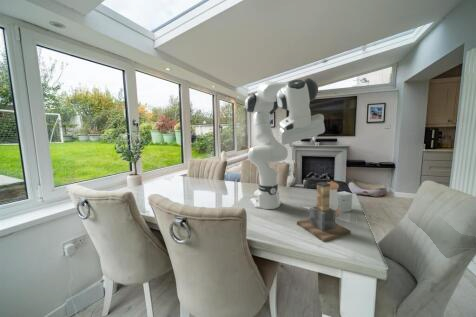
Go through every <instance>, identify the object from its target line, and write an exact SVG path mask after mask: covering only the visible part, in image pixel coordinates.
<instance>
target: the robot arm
mask: <svg viewBox="0 0 476 317" xmlns="http://www.w3.org/2000/svg"><path fill="white" fill-rule="evenodd" d="M318 92H319V86H318V83H317V82H316V81H315V80H313V79H312V78H309V77H307V78H305V79H294V80H290V81H288V82H285V81H284V82H283V81H282V82H281V81H280V82H278V81H269V80H268V81H264V82H261V83H260V84H259V85H258V87H257V91H256V93H254V92H252V93H251V94H249V95H248V96H246V98H245V101H244V106H245V110H246V111H247V112H248V113H253V117H252V122H253V130H254V137H255V140H257V142H259V143H261V144H263V145H256V146H252V147H250V148H249V149H248V152H247V158H248V160H249V162H250V163H252V164H253V165H255V167H256V168H257V171H258V177H259V183H258V185H257V189H256V190H255V191H254V192H253V195H252V197H251V198H250V202H251V203H252V205H253V206H254V208H255V209H256V208H257V209H264V210H273V209H279V207H280V205H281V204H282V201H281V200H280V199H281V198H280V191H279V190H278V189H279V187H278V186H279V184H278V174H277V171H276V170H275V169H274V168H273V167H270V166H269V163H279V162H282V161H283V162H284V161H286V160H287V157H288V155H289V153H288V149H287V147H286V146H285V145H288V146H290V148H291V150H292V151H293V150H294V151H295V150H296V145H295V144H293V143H295V142H298V141H301V140H305V139H308V138H310V140H309V142H310V144H311V145H314V144H315V143H316V140H317V138H318V136H319V135H321V134H324V133H325V132H326V127H325V122H324V121H325V116H324V114H323V113H317V114H314V115H312V113H311V112H312V111H311V108H310V102H312V101H313V102H314V100H315V99H316V97H317V95H318ZM278 108H280V109H282V110H285V111H288V116H287V117H285V118H284V119H282V120H280V121H279V126H280V127H279V130H278V136H279V140H277V139H276V137H275V136H274V132H273V130H272V126H271V122H270V121H271V120H270V118H269V116H270V115H274V112H276V111H277V110H278ZM269 114H270V115H269Z"/></svg>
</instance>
